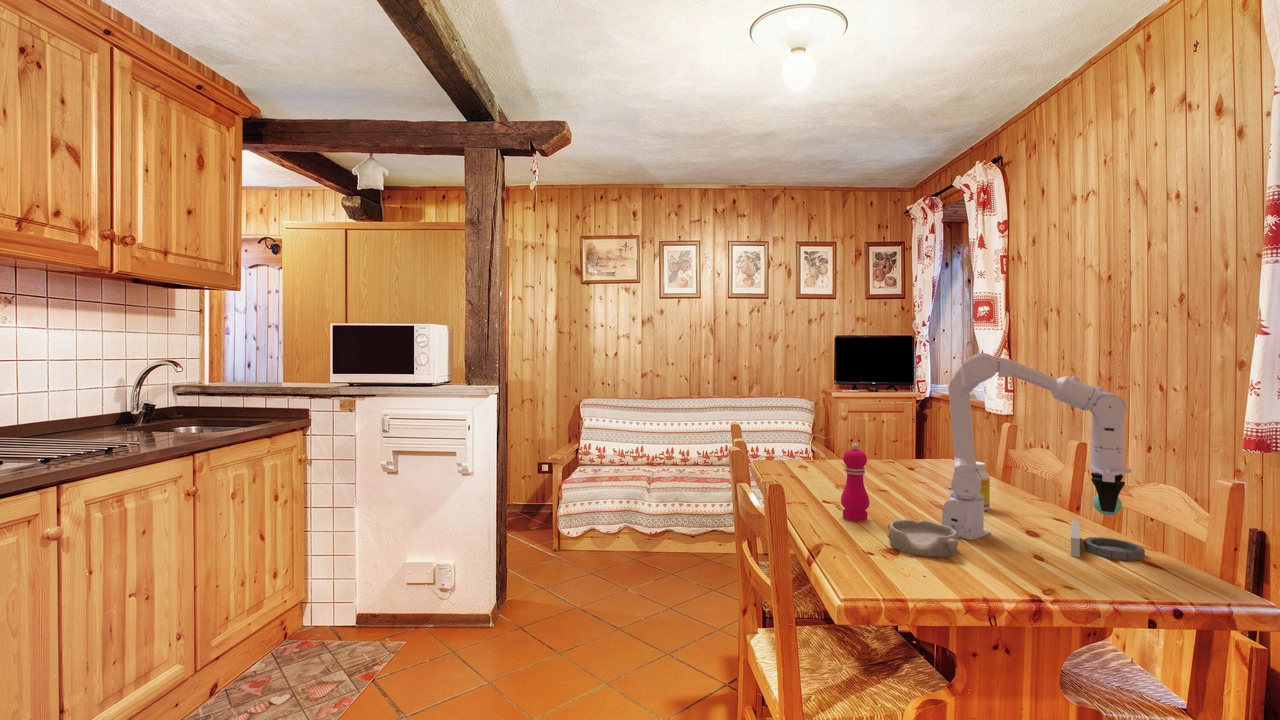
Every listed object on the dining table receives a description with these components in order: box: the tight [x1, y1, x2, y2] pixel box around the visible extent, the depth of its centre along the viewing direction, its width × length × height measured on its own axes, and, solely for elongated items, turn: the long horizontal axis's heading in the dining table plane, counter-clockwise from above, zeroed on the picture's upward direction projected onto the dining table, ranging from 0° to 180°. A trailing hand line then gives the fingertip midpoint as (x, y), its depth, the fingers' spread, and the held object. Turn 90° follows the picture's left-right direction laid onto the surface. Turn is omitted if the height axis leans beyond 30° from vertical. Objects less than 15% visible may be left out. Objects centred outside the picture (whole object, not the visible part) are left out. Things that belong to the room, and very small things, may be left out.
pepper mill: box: [840, 443, 870, 522], centre depth 154 cm, size 7×7×20 cm
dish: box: [887, 519, 959, 558], centre depth 131 cm, size 14×14×5 cm
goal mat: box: [1083, 536, 1146, 562], centre depth 126 cm, size 10×10×2 cm
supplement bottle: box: [976, 461, 991, 511], centre depth 162 cm, size 7×7×13 cm
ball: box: [1092, 493, 1123, 516], centre depth 127 cm, size 5×5×5 cm
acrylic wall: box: [1070, 519, 1081, 558], centre depth 131 cm, size 16×2×4 cm, turn 143°
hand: (1107, 508), depth 127 cm, fingers closed on ball, 5 cm apart
